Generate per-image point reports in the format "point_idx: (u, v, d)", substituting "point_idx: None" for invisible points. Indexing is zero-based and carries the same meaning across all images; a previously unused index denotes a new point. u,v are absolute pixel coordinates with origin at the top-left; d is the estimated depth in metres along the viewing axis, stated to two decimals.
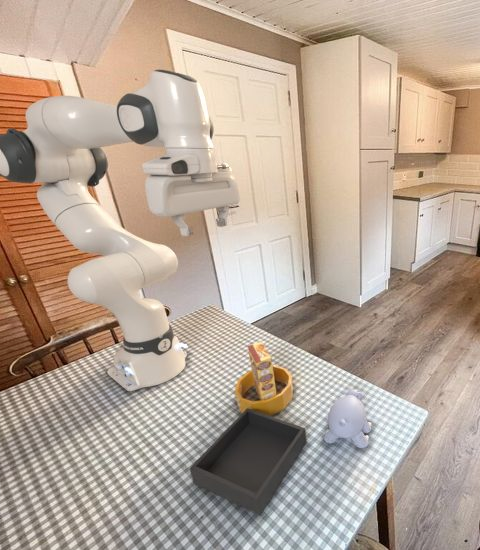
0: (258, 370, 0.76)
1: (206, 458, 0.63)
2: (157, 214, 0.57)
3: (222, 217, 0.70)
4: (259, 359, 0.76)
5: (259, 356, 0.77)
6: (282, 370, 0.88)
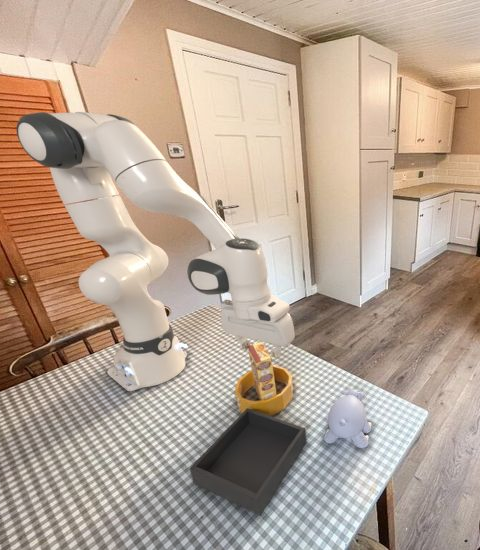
0: (258, 370, 0.76)
1: (206, 458, 0.63)
2: (290, 342, 0.74)
3: (244, 340, 0.80)
4: (259, 359, 0.76)
5: (259, 356, 0.77)
6: (282, 370, 0.88)
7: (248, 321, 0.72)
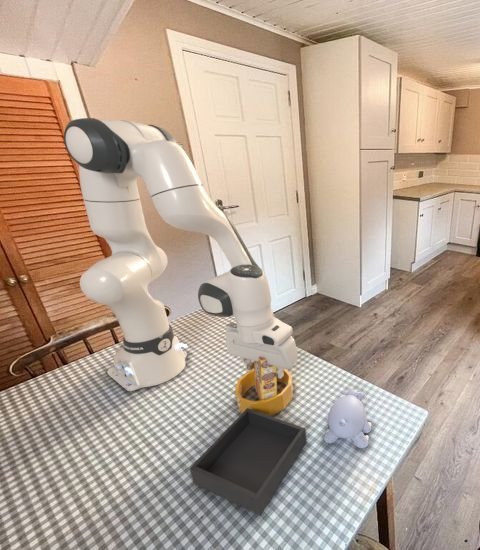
0: (262, 368, 0.76)
1: (206, 458, 0.63)
2: (293, 364, 0.76)
3: (249, 361, 0.82)
4: None
5: None
6: None
7: (252, 344, 0.74)
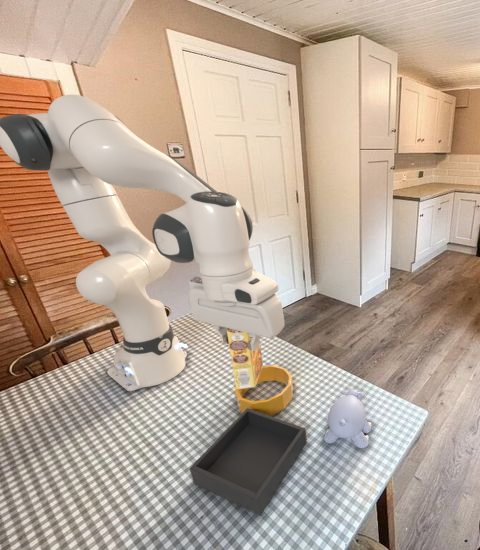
0: (228, 331, 0.59)
1: (206, 458, 0.63)
2: (278, 333, 0.56)
3: (226, 332, 0.62)
4: None
5: None
6: (282, 370, 0.88)
7: (222, 304, 0.54)
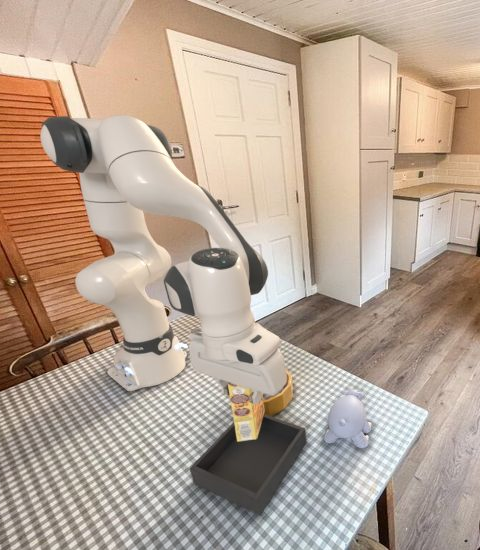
0: (229, 385, 0.57)
1: (206, 458, 0.63)
2: None
3: (227, 383, 0.61)
4: None
5: None
6: None
7: (224, 361, 0.53)
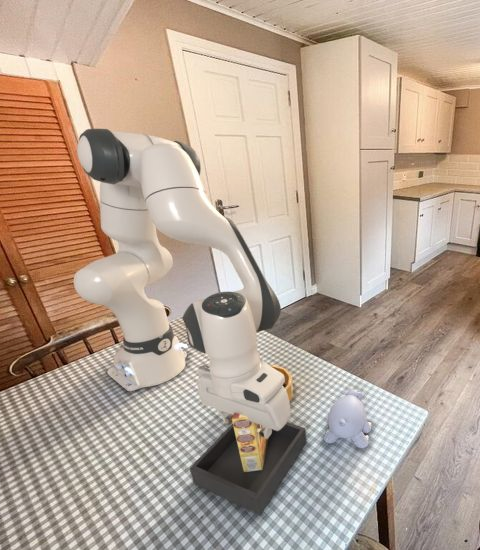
0: (235, 427, 0.59)
1: (206, 458, 0.63)
2: None
3: (228, 413, 0.64)
4: None
5: None
6: (282, 370, 0.88)
7: (231, 398, 0.56)
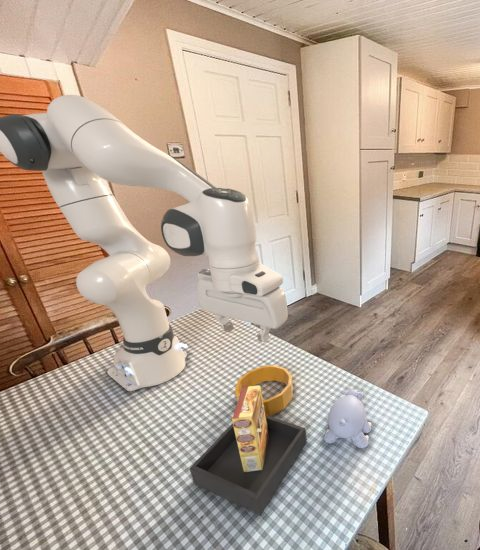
0: (235, 427, 0.59)
1: (206, 458, 0.63)
2: None
3: (227, 321, 0.65)
4: (238, 413, 0.59)
5: (241, 409, 0.60)
6: (282, 370, 0.88)
7: (230, 295, 0.57)
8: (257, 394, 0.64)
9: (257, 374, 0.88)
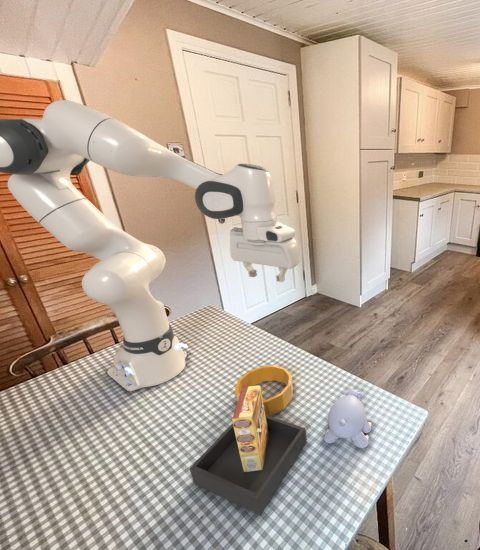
0: (235, 427, 0.59)
1: (206, 458, 0.63)
2: (295, 265, 0.79)
3: (252, 269, 0.85)
4: (238, 413, 0.59)
5: (241, 409, 0.60)
6: (282, 370, 0.88)
7: (256, 243, 0.77)
8: (257, 394, 0.64)
9: (257, 374, 0.88)
